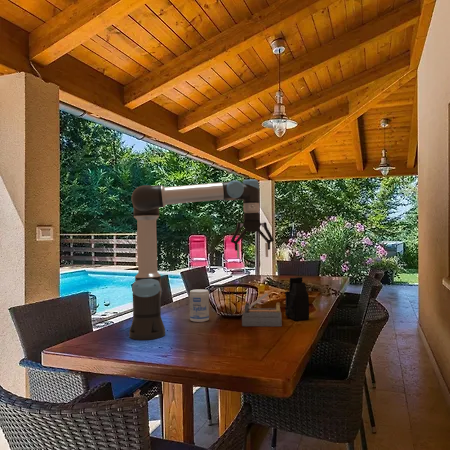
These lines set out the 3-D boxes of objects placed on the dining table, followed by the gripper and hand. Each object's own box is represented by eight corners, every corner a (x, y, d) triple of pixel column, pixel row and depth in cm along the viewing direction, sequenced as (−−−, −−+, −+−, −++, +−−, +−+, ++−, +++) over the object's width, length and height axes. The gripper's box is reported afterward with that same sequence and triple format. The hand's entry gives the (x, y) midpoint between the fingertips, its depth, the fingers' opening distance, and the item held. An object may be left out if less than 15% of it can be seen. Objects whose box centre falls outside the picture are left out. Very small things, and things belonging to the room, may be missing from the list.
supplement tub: (193, 323, 202) (192, 292, 202) (187, 319, 211) (186, 290, 211) (212, 321, 206) (211, 290, 206) (205, 317, 215) (204, 288, 215)
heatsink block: (242, 326, 194) (241, 306, 194) (244, 320, 206) (243, 301, 206) (281, 326, 191) (281, 306, 191) (281, 320, 203) (281, 301, 203)
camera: (298, 314, 216) (297, 275, 216) (311, 319, 203) (310, 278, 204) (280, 316, 213) (279, 276, 213) (293, 321, 200) (292, 279, 200)
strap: (246, 310, 198) (245, 308, 198) (247, 309, 201) (245, 307, 201) (273, 291, 196) (272, 289, 196) (273, 290, 200) (272, 288, 200)
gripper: (225, 212, 196) (226, 258, 196) (279, 211, 198) (280, 257, 197) (224, 213, 203) (225, 257, 203) (276, 212, 205) (277, 256, 205)
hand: (252, 257), depth 200 cm, fingers open, 13 cm apart
